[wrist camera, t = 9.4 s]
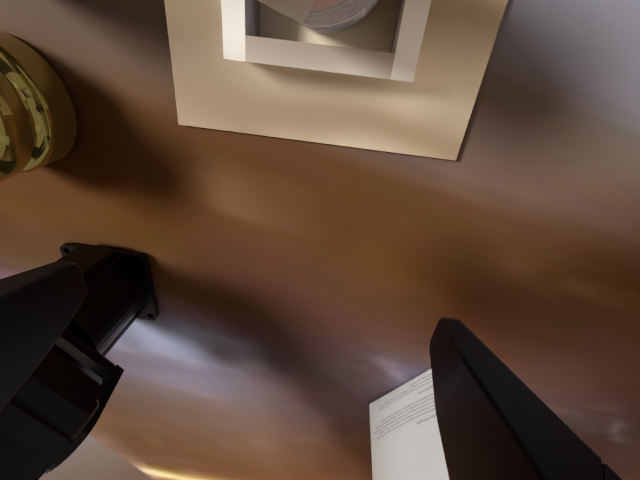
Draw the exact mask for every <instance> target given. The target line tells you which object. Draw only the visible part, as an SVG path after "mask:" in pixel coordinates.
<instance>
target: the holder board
mask: <svg viewBox="0 0 640 480" xmlns="http://www.w3.org/2000/svg"><path fill="white" fill-rule="evenodd" d="M507 2H508V0H379V1H378V3H377V4H376V6H375V8H374V9H373V10H372V11H371V12H370V13H369V14H368V15H367V17H366V18H364V19H363V20H362V21H360V22H359V23H358V24H356V25H355V26H353V27H351V28H349V29H347V30H344V31H339V32H335V33H323V32H318V31H314V30H311V29H309V28H307V27H305V26H303V25H301V24H300V23H298V22H296V21H294V20H292V19H290V18H289V17H287V16H285V15H283V14H281V13H280V12H278V11H276V10H274V9H272V8H270V7H269V6H267V5H265V4H263V3H261V2H259V1H258V0H164V3H165V11H166V20H167V28H168V37H169V46H170V54H171V63H172V71H173V80H174V88H175V97H176V105H177V114H178V123H179V125H187V126H194V127H202V128H210V129H217V130H225V131H233V132H240V133H248V134H256V135H263V136H271V137H279V138H287V139H294V140H302V141H310V142H317V143H325V144H333V145H340V146H348V147H356V148H363V149H371V150H379V151H386V152H394V153H402V154H410V155H417V156H425V157H433V158H440V159H448V160H456V159H457V156H458V153H459V149H460V146H461V143H462V140H463V137H464V134H465V131H466V128H467V125H468V122H469V119H470V116H471V113H472V110H473V106H474V103H475V100H476V97H477V94H478V91H479V88H480V85H481V82H482V79H483V76H484V73H485V70H486V67H487V63H488V60H489V57H490V54H491V51H492V48H493V45H494V42H495V39H496V36H497V33H498V30H499V27H500V24H501V20H502V17H503V14H504V11H505V8H506V5H507Z"/></svg>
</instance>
